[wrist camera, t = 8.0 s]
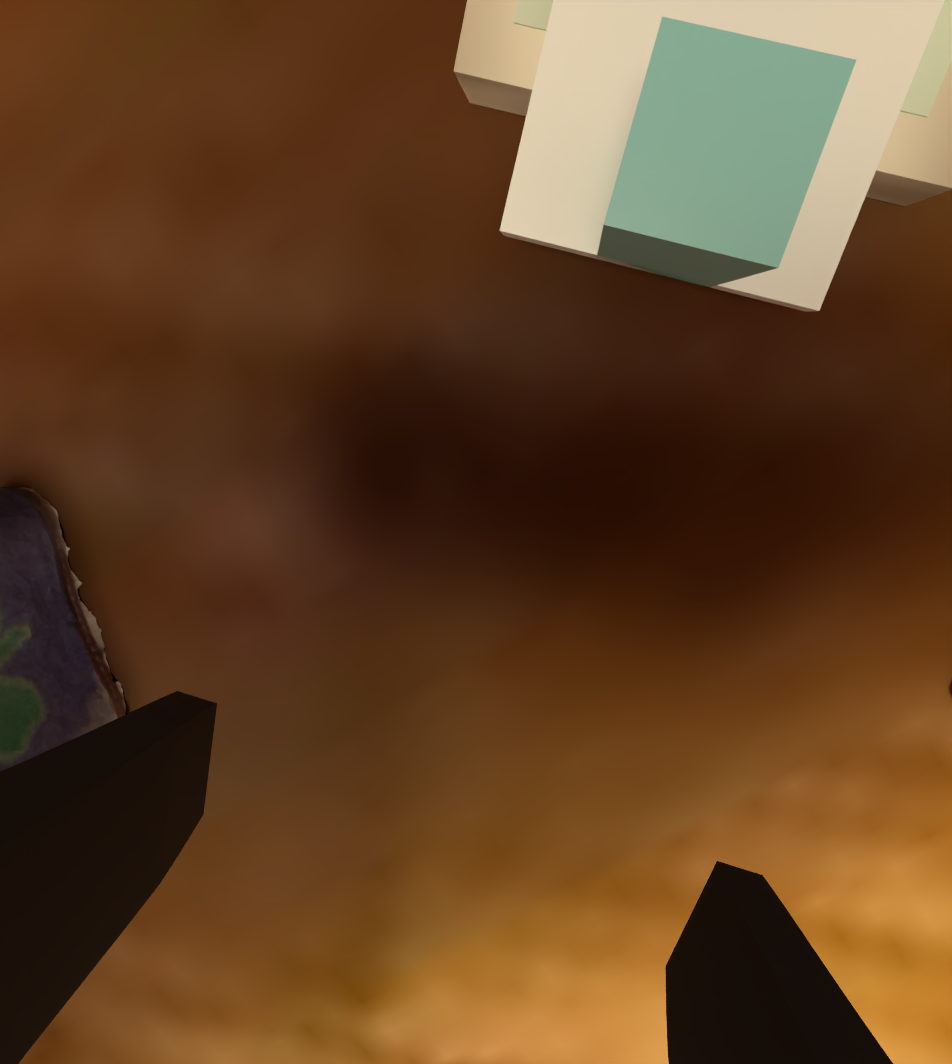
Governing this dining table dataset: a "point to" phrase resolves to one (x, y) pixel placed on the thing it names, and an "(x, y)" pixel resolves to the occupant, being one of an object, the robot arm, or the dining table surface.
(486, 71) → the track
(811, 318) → the dining table surface
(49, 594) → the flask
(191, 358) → the dining table surface
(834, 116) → the block
